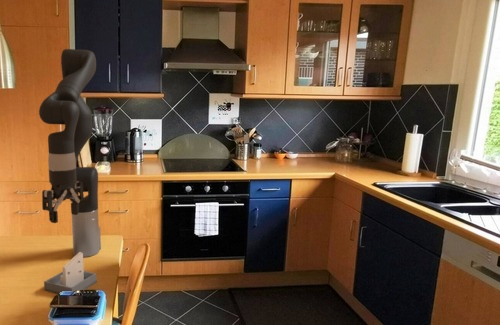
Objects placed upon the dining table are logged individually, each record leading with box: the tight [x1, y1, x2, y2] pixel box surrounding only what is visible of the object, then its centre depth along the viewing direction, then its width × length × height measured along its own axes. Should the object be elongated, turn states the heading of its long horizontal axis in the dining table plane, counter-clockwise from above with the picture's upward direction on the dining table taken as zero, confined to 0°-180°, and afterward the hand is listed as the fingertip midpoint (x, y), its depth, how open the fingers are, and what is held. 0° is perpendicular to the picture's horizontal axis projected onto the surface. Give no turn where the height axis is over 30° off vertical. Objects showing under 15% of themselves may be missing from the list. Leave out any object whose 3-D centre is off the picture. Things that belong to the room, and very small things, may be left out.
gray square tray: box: [43, 270, 98, 295], centre depth 126 cm, size 11×11×3 cm
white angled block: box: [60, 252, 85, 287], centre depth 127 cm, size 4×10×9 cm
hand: (64, 218), depth 123 cm, fingers open, 8 cm apart
